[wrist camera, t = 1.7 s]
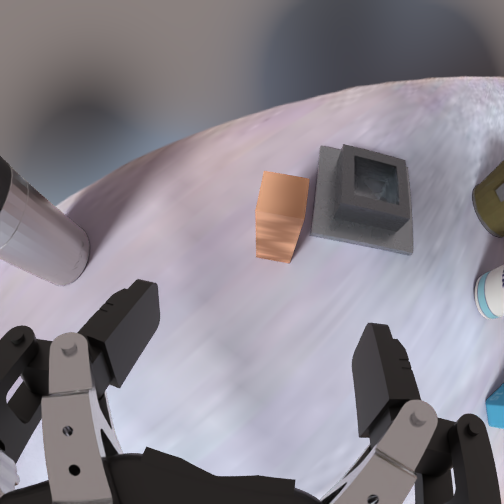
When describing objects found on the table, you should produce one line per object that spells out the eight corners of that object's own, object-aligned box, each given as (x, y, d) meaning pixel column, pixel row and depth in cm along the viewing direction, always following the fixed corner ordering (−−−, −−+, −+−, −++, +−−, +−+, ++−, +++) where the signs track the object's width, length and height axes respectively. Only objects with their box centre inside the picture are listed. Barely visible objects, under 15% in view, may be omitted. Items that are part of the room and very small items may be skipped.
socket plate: (310, 235, 35) (317, 217, 30) (319, 149, 40) (325, 127, 35) (409, 255, 34) (428, 242, 29) (405, 170, 38) (418, 151, 34)
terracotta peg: (256, 257, 34) (255, 210, 23) (262, 227, 36) (264, 170, 24) (289, 263, 34) (304, 219, 23) (294, 232, 35) (309, 178, 24)
